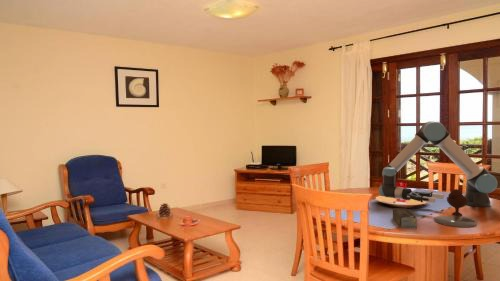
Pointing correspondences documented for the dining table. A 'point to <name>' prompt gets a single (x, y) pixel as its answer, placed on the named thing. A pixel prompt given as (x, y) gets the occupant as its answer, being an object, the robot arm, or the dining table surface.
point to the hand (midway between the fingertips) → (439, 198)
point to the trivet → (455, 221)
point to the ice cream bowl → (457, 201)
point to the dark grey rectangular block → (404, 218)
